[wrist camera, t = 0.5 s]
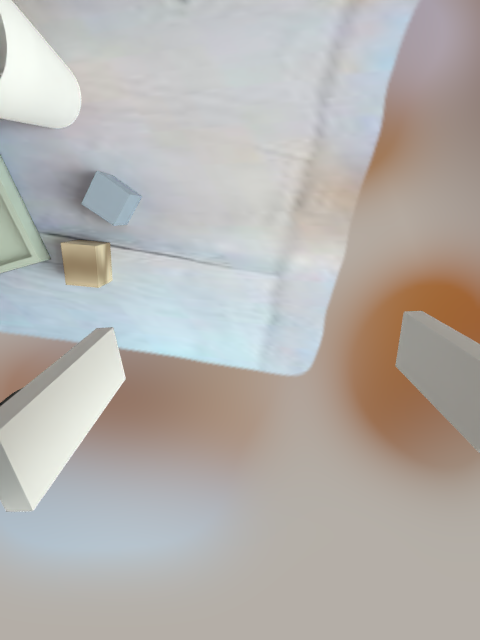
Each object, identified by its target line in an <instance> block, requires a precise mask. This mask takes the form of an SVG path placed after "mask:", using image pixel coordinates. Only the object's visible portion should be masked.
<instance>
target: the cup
mask: <svg viewBox="0 0 480 640" xmlns="http://www.w3.org/2000/svg"><path fill="white" fill-rule="evenodd" d="M80 108H81V92H80V88H79V85H78V82H77V80H76V78H75V76H74V74H73V73H72V71H71V70H70V69H69V68H68V67H67V65H66V64H65V63H64V62H63V61H62V59H61V58H60V57H59V56H58V55H57V53H56V52H55V51H54V50H53V49H52V47H51V46H50V45H49V44H48V43H47V42H46V40H45V39H44V38H43V37H42V36H41V34H40V33H39V32H38V31H37V30H36V28H35V27H34V26H33V25H32V24H31V23H30V21H29V20H28V19H27V18H26V17H25V15H24V14H23V13H22V12H21V11H20V10H19V8H18V7H17V6H16V5H15V4H14V3H13V1H12V0H0V119H6V120H11V121H16V122H21V123H27V124H32V125H37V126H43V127H48V128H53V129H62V128H65V127H67V126H69V125H71V124H72V123H73V122H74V121H75V120H76V118H77V116H78V114H79V112H80Z"/></svg>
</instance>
